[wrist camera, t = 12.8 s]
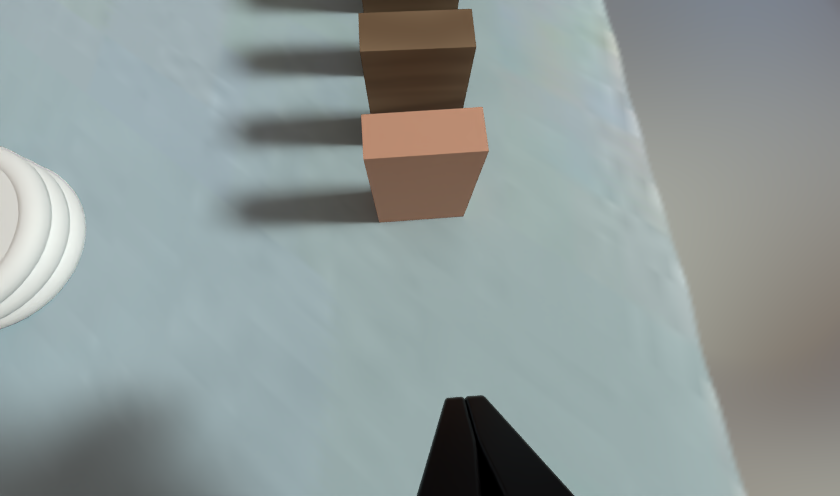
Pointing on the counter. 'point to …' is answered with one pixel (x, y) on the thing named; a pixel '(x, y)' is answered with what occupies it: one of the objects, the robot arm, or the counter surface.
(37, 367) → the counter surface
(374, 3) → the walnut domino
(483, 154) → the terracotta domino
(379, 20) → the walnut domino
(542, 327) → the counter surface
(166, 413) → the counter surface
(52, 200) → the white rounded piece
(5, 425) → the counter surface
